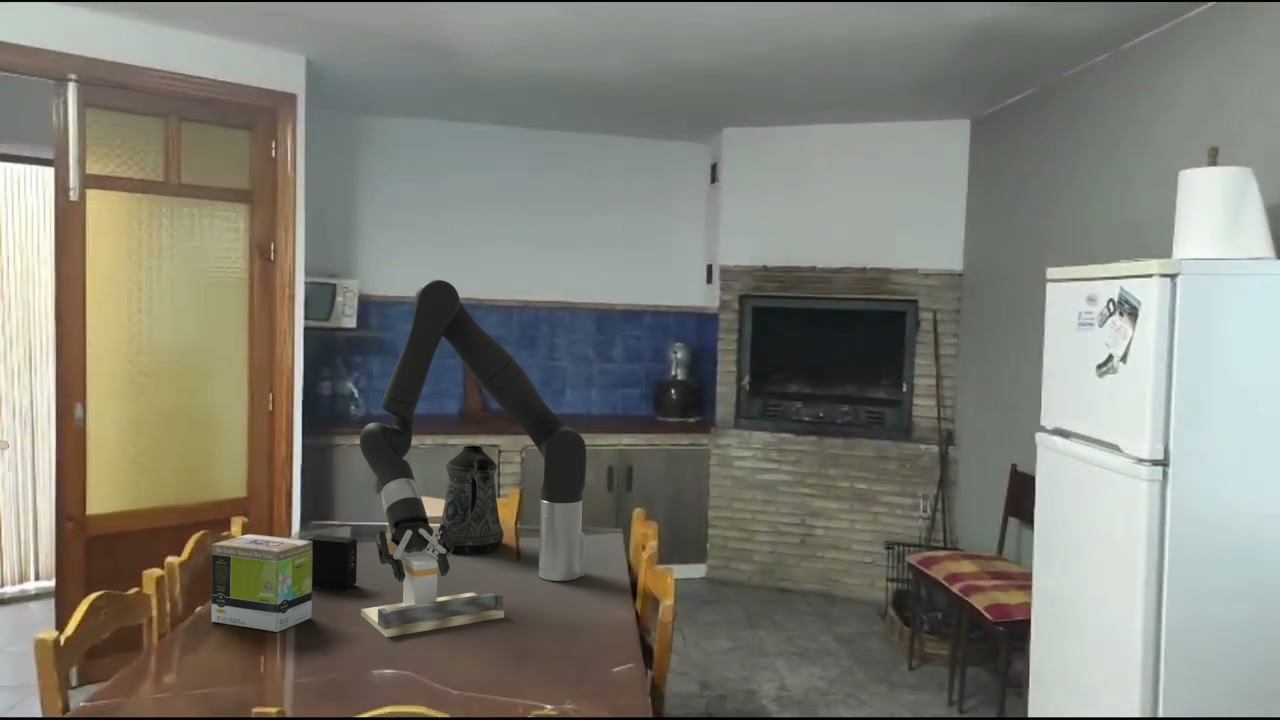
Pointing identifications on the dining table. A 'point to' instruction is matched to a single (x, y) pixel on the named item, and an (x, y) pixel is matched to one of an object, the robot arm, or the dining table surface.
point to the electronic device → (333, 561)
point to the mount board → (428, 624)
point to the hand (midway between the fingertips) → (424, 576)
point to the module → (419, 580)
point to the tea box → (262, 582)
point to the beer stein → (472, 503)
